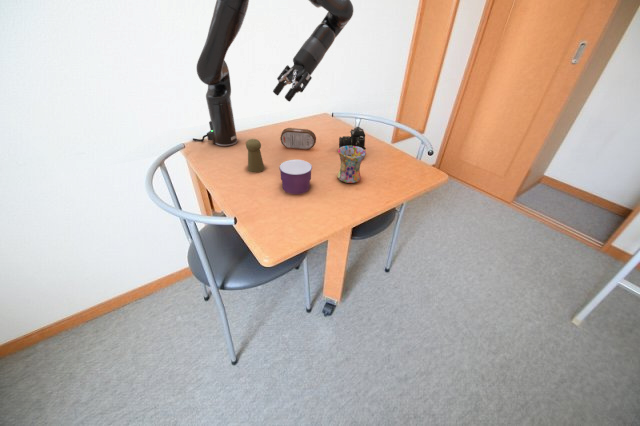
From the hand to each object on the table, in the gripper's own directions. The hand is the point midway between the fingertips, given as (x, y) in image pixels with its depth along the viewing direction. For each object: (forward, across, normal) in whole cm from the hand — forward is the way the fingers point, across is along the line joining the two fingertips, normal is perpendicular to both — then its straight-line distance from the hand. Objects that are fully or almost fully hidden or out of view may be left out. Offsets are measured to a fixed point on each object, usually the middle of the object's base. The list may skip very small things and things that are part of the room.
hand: (280, 96), depth 92 cm
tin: (+9, -8, +25) cm, 28 cm away
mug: (+7, +22, +27) cm, 36 cm away
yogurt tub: (+21, +19, +13) cm, 31 cm away
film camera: (-3, +6, +38) cm, 39 cm away
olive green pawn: (+25, 0, +9) cm, 27 cm away
